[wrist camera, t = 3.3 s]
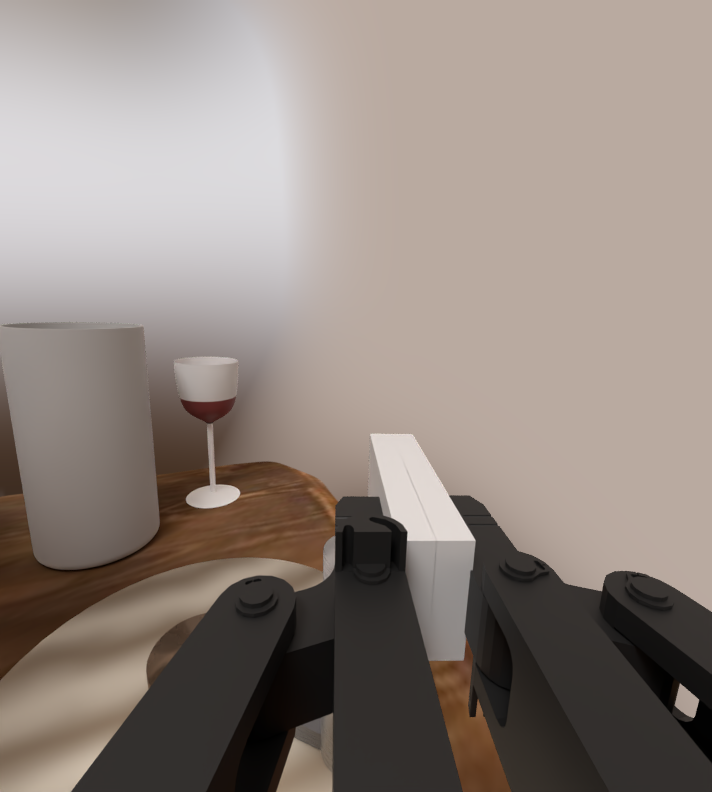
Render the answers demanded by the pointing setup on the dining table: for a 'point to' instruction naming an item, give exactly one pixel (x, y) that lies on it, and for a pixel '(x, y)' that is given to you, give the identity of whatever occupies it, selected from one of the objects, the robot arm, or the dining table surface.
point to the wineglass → (208, 413)
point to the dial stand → (118, 677)
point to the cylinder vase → (82, 439)
